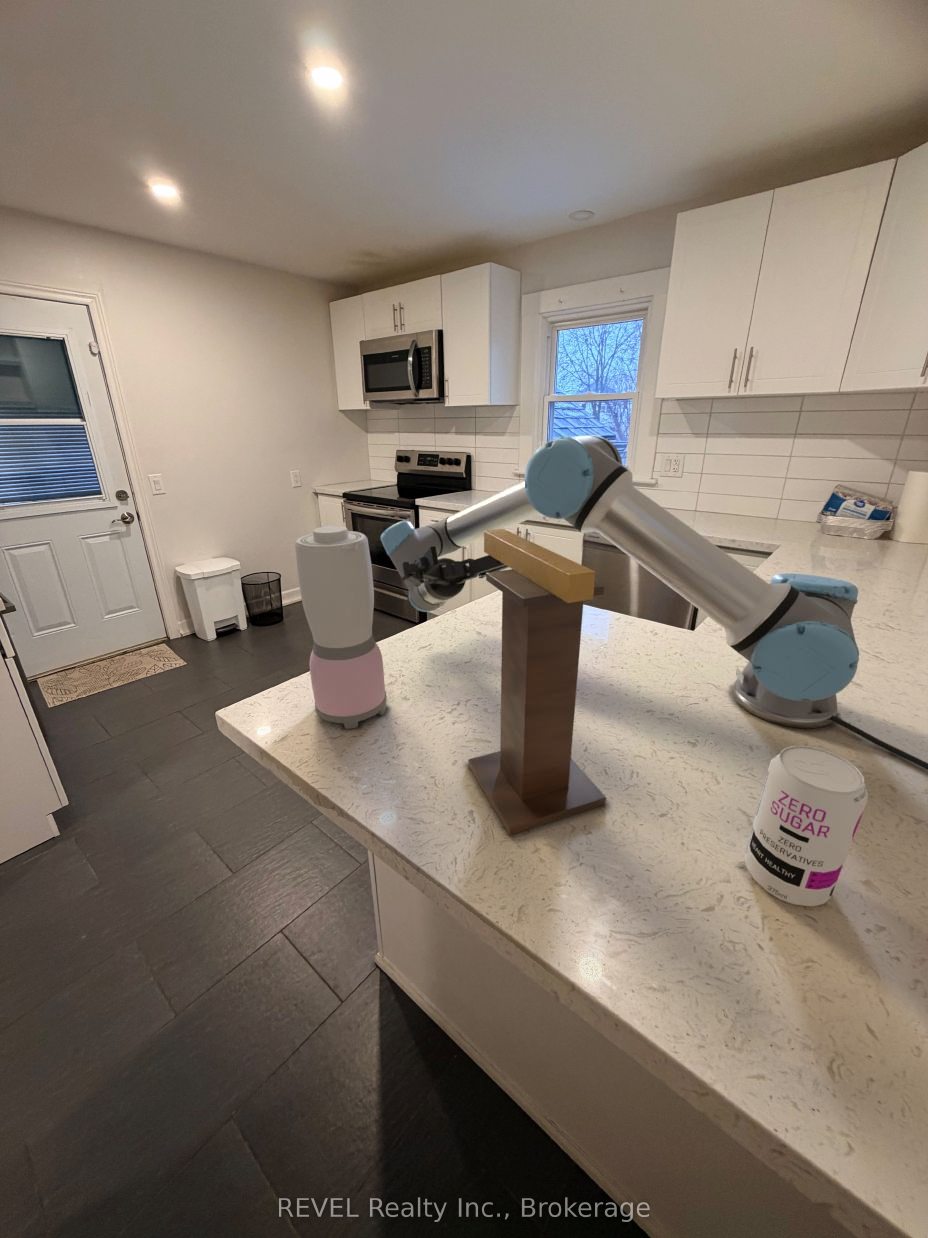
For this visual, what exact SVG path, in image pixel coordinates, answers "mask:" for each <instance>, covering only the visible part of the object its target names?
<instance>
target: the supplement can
mask: <svg viewBox="0 0 928 1238" xmlns="http://www.w3.org/2000/svg"><path fill="white" fill-rule="evenodd" d="M868 794H869V792H868V789H867V787H866V784H865V777H864V775H863V774H862V772H861V771H860V769H859V768H858V767H856V766H855V765H854V764H853V763H852V762H851V761H850V760H847V759H846V758H845V757H843V756H840V755H839V754H836V753H834V752H831V751H829V750H827V749H825V748H820V747H815V746H812V745H799V744H798V745H790V746H787V747H785V748H783V749H782V750H780V753H778V754H776V756H774V757H773V758H772V759H771V760H770V761H769V766H768V769H767V771H766V776H765V779H764V783H763V787H762V791H761V794H760V798H759V802H758V805H757V809H756V813H755V815H754V819H753V820H754V821H753V823H752V826H751V827H752V828H751V830H750V834H749V838H748V843H747V846H746V849H745V853H744V857H743V858H744V862H745V867H746V869H747V871H748V872H749V874H750V876H751V877H752V878H753V879H754V881H756V883H757V884H758V885H759V886H761V888H762V889H764V890H765V891H766V892H767V893H769V894H770V895H772V896H774V897H775V898H777V899H778V900H781V901H784V902H786V903H789V904H791V905H796V906H804V907H815V906H820V905H825V904H826V902H828V900H830V899H831V898H832V895H833V893H834V890H835V887H836V886H837V885H836V884H837V882H838V879H839V877H840V874H841V872H842V869H843V867H844V864H845V861H846V859H847V856H848V853H849V850H850V848H851V845H852V842H853V840H854V838H855V835H856V832H857V829H858V828H859V824H860V822H861V819H862V816H863V814H864V812H865V809H866V806H867V803H868V796H869V795H868Z"/></svg>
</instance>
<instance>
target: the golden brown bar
mask: <svg viewBox="0 0 928 1238" xmlns="http://www.w3.org/2000/svg"><path fill="white" fill-rule="evenodd" d="M483 552H484V553H485V554H487V555H490V556H492V557H493V558H495V559H497V560H498V561H500V562H502V563H503V564H505V565H506V566H508V568H509V569H510V570H511V569H513V570H515V571H516V572H518V573H520V574H521V575H523V576H524V577H526V578H528V579H529V580H531V581H533V582H534V583H536V584H538V585H539V586H541V587H543V588H544V589H546V590H547V591H549V592H551V593H552V594H554V595H556V596H557V597H559V598H561V599H562V600H564V601H566V602H567V603H572V602H578V601H583V602H585V601H589V600H594V596H593V593H594V582H596V581H595V580H596V571H595V570H593V569H591V568H589V567H587V566H584V565H583V564H580V563H578V562H576V561H574V560H571V559H570V558H567V557H566V556H563V555H561V554H559V553H556V552H554V551H553V550H550V549H548V548H546V547H544V546H541V545H540V544H537V543H535V542H533V541H531V540H528V539H526V538H525V537H522V536H520V535H517V534H515V533H514V532H512V531H509V530H507V529H497V530H487V531H484V538H483Z"/></svg>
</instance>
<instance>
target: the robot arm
mask: <svg viewBox="0 0 928 1238" xmlns="http://www.w3.org/2000/svg"><path fill="white" fill-rule="evenodd" d="M622 460H623V459H622V456H621V454H620V452H619V449H618V448H617V447H616V446H615V444H614V443H612V442H611V440H609V439H608V438H605V437H603V436H600V435H596V434H584V435H578V436H577V435H576V436H561V437H556V438H554V439H552V440H550V441H547V442H545V443H544V444H542V445H540V446H539V447H538V448H537V449H536V450H535V451H534V452H533V454H532V455H531V456H530V458H529V460H528V462H527V464H526V467H525V471H524V477H523V480H520V481H519V482H516V483H514V484H512V485H511V486H508V487H507V488H504V489H502V490H501V491H498V492H496V493H494V494H492V495H490V496H487V497H485V498H484V499H482V500H480V501H478V502H475V503H474V504H472V505H469V506H468V507H466V508H463V509H462V510H459V511H458V512H455V513H453V514H451V515H450V516H447V517H445V518H442V519H441V520H439V521H436V522H434V523H431V524H429V525H425V526H421V527H417V528H415V526H414V525H413V524H412V522H411V521H409V520H405V519H404V520H401V521H398V522H396V523H394V524H392V525H391V526H388V527H387V528H386V529H385V530H384V531H383V532H382V533H381V535H380V541H381V543H382V546H383V548H384V550H385V552H386V554H387V556H388V557H389V558H390V560H391V562H392V564H393V565H394V567H395V568H396V570H397V572H398V574H399V576H400V577H401V579H402V581H403V583H404V585H405V587H406V588H407V590H408V600H409V603H410V605H411V606H412V607H413V608H414V609H415V610H417V611H419V612H423V613H429V612H432V611H436V610H437V609H439V608H441V607H444V606H445V604H446V603H447V602H448V601H450V600H451V599H452V598H453V599H454V597H456V596H458V595H459V594H460V593H461V592H462V591H463V589H464V587H465V585H466V582H467V581H469V580H472V579H475V578H479V579H484V578H486V573H488V572H495V571H503V570H507V569H508V568H509V567H508V566H506V565H505V564H503V563H502V562H500V561H498V560H497V559H495V558H493V557H492V556H490V555H488V554H487V555H484V556H481V557H479V558H467V559H463V560H454V559H452V558H449V557H448V558H447V557H443V556H445V555H448V554H452V553H454V552H457V551H458V550H459V549H462V548H465V547H466V546H468V545H471V544H473V543H476V542H478V541H481V540H484V531H487V530H497V529H505V530H507V529H509V528H512V527H514V526H517V525H519V524H521V523H523V522H526V521H528V520H531V519H532V518H535V517H537V516H539V515H540V516H541V515H542V516H544V517H546V518H550V519H555V520H561V519H563V520H565V521H566V522H567V523H569V524H570V525H571V526H572V527H574V528H575V529H576V530H578V531H579V532H580V533H582V534H584V535H585V534H590V533H597V534H599V535H600V536H602V537H603V538H605V539H606V540H607V541H608V542H609V543H611V544H612V545H613V546H615V547H616V548H617V549H619V550H620V551H621V552H623V553H624V554H625V555H627V557H630V558H631V559H632V560H633V561H634V562H636V563H637V564H639V566H641V567H642V568H644V569H645V570H646V571H648V572H649V573H651V574H652V575H653V576H655V577H656V578H657V579H658V580H660V581H661V582H662V583H664V584H665V585H666V586H667V587H669V588H670V589H671V590H673V591H674V592H675V593H677V594H678V595H679V596H681V597H682V599H685V600H686V601H687V602H689V603H690V604H691V605H693V606H694V607H695V608H696V609H698V611H700V612H702V613H703V614H704V615H705V616H707V617H709V618H710V619H711V620H712V621H714V622H715V623H716V624H718V625H719V627H722V628H723V629H724V631H725V637H726V638H725V640H726V644H727V645H728V646H729V647H730V648H731V649H732V650H734V651H735V652H737V653H738V654H739V655H741V656H742V657H743V658H744V659H745V660H747V661H748V662H747V663H746V665H745V666H744V667H743V669H742V671H741V669H739V667H738V666H736V669H735V676H736V677H737V678H736V679H735V681H734V685H733V689H732V696H733V698H734V700H735V701H736V703H737V704H738V705H739V707H741V708H743V709H744V710H745V711H747V712H748V713H750V714H752V715H754V716H756V717H757V718H760V719H763V720H765V721H768V722H771V723H774V724H777V725H782V726H785V727H791V728H799V729H816V728H822V727H826V726H828V725H831V723H833V722H834V723H835V724H837V725H839V726H841V727H843V728H845V729H846V730H849V731H851V732H852V733H854V734H856V735H858V736H860V737H862V738H864V739H865V740H867V741H869V742H871V743H872V744H875V745H877V746H879V747H881V748H882V749H885V751H888V752H890V753H892V754H895V755H897V756H898V757H901V758H903V759H905V760H906V761H909V762H911V763H913V764H915V765H917V766H920V767H921V768H923V769H925V770H927V771H928V762H927V761H924V760H922V759H921V758H918V757H916V756H914V755H912V754H910V753H908V752H906V751H903V750H902V749H900V748H897V747H896V746H893V745H891V744H889V743H887V742H886V741H883V740H881V739H879V738H877V737H875V736H873V735H872V734H870V733H868V732H866V731H864V730H862V729H860V728H859V727H857V726H855V725H853V724H851V723H849V722H847V721H845V720H843V719H841V718H839V717H837V716H836V715H837V711H838V701H837V699H838V698H837V694H838V693H840V692H841V691H843V690H844V689H846V688H847V687H848V686H849V684H850V683H852V681H853V679H854V678H855V675H856V673H857V670H858V664H859V662H860V657H859V656H860V650H859V646H858V644H857V642H856V638H855V637H856V636H855V633H854V629H853V625H852V617H853V612H854V608H855V606H856V605H857V604H858V601H859V600H858V595H859V589H858V587H857V586H856V585H855V584H853V583H852V582H848V581H846V580H842V579H837V578H834V577H833V578H832V577H826V576H821V575H813V574H805V573H779V574H775V575H774V576H773V577H771V580H770V583H769V582H767V581H766V580H764V579H763V578H761V577H760V576H759V575H757V574H756V573H754V572H753V571H751V570H750V569H749V568H748V567H746V566H745V565H743V564H742V563H741V562H739V561H738V560H736V559H735V558H734V557H733V556H731V555H729V554H728V553H727V552H725V551H724V550H722V549H721V548H720V547H718V546H717V545H716V544H714V543H713V542H712V541H710V540H709V539H707V538H706V537H704V536H703V535H702V534H701V533H699V532H697V531H696V530H695V529H693V528H692V527H690V526H689V525H687V524H686V523H685V522H683V521H682V520H681V519H679V518H678V517H676V516H675V515H674V514H672V513H671V512H670V511H668V510H667V509H665V508H664V507H662V506H661V505H660V504H658V503H657V502H656V501H654V500H653V499H652V498H650V497H649V496H647V495H646V494H645V493H643V492H642V491H640V490H639V489H637V488H636V487H635V486H634V482H633V472H632V471H631V470H629V469H628V468H627V467H625V466H624V465H623V461H622ZM440 557H441V558H440Z"/></svg>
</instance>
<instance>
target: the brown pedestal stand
mask: <svg viewBox="0 0 928 1238" xmlns="http://www.w3.org/2000/svg"><path fill="white" fill-rule="evenodd" d="M485 580H486V581H487V582H488V583H489V584H490V585H492V586H493V587H494V588H496V589H497V590H499V591H500V592H501V593H502V599H501V600H502V601H501V668H500V669H501V673H500V741H499V742H500V745H499V746H500V747H499V749H500V750H499V751H494V752H491V753H487V754H483V755H479V756H475V757H472V758H468V759H467V764H468V765H467V766H468V768H469V769H470V771H471V773H472V775H473V776H474V779H475V780H476V781H477V783H478V784H479V786H480V788H481V790H482V791H483V793H484V795H485V797H486V798H487V800H488V802H489V804H490V805H491V807H492V809H493V811H494V812H495V814H496V815H497V817H498V819H499V820H500V822H501V824H502V825H503V827H504V829H505V831H506V832H507V834H508V836H512V835H515V834H519V833H521V832H525V831H527V830H531V829H533V828H536V827H540V826H543V825H546V824H549V823H552V822H556V821H558V820H561V819H565V818H567V817H571V816H574V815H578V814H580V813H583V812H587V811H590V810H592V809H593V810H594V809H596V808H599V807H603V806H605V805H606V803H607V797H606V796H605V794H604V793H603V792H602V791H601V790H600V789H599V787H597V786H596V784H594V782H593V781H592V780H591V779H590V777H588V776H587V774H585V773H584V771H583V770H582V769H581V768H580V767H579V766H578V765H577V764H576V762H574V760H573V759H572V751H573V750H572V748H573V736H574V725H575V723H574V722H575V712H576V699H577V698H576V697H577V685H578V675H579V664H580V663H579V662H580V651H581V640H582V639H581V637H582V636H581V635H582V625H583V614H584V613H583V611H584V601H578V602H572V603H567V602H566V601H564V600H562V599H561V598H559V597H557V596H556V595H554V594H552V593H551V592H549V591H547V590H546V589H544V588H543V587H541V586H539V585H538V584H536V583H534V582H533V581H531V580H529V579H528V578H526V577H524V576H523V575H521V574H520V573H518V572H516V571H515V570H513V569H511V568H510V569H503V570H500V571H495V572H488V573H486V577H485ZM604 593H605V586H604V585H603V584H600V583H598V582H597V581H595V582H594V593H593V597H597V596H598V597H599V596H603V595H605V594H604Z"/></svg>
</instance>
